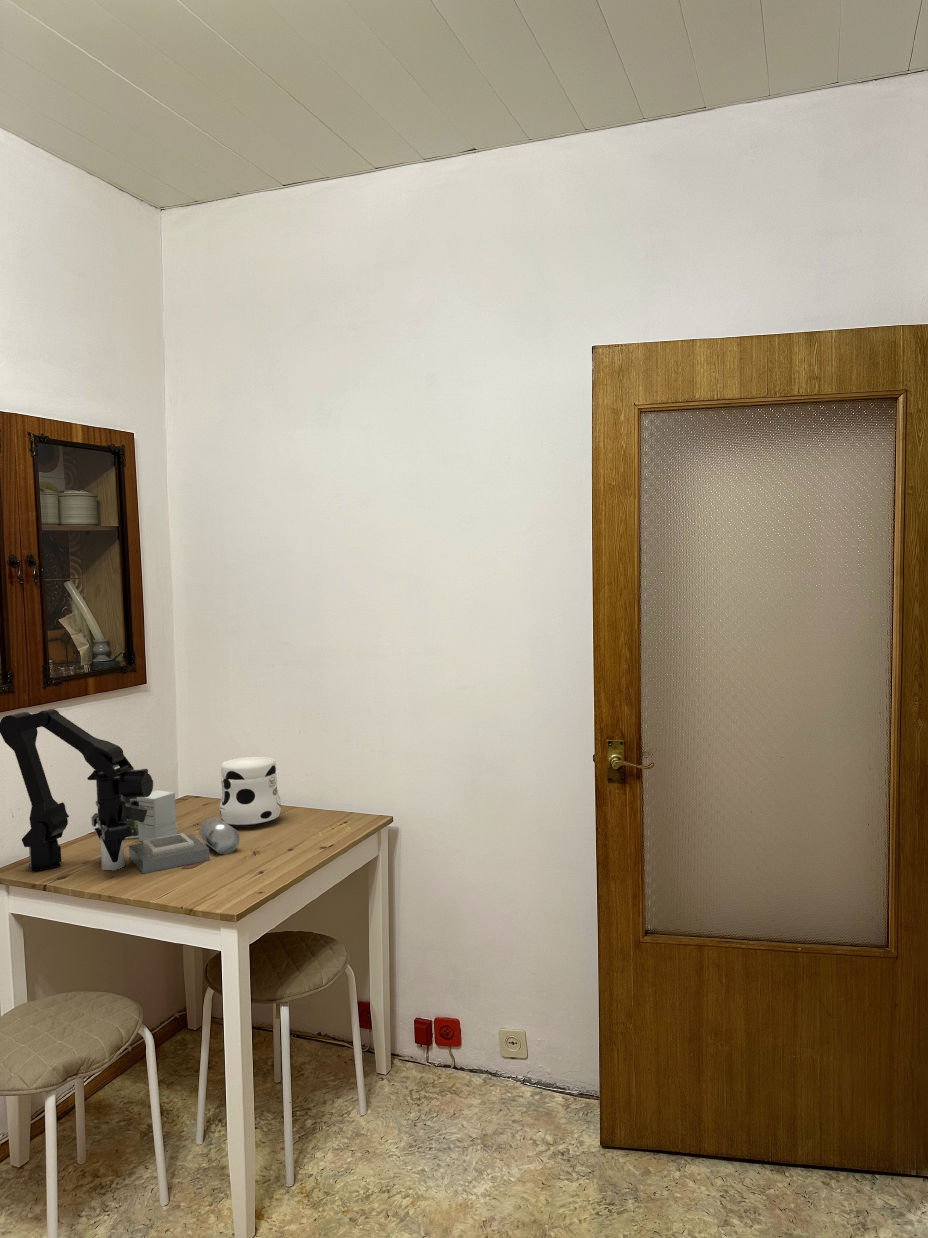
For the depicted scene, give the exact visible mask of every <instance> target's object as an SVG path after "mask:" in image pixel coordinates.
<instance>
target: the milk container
mask: <svg viewBox="0 0 928 1238" xmlns="http://www.w3.org/2000/svg"><path fill="white" fill-rule="evenodd" d="M220 765H221V766H220V776H221V778H220V780H221V782H220V783H221V797H220V801H219V816H220V819H221V820H222V821H224V822H225V823H227V824H228V825H230V826H231V827H233V828H234V827H235V828H236V827H237V828H252V827H259V826H264V825H267V824H271V823H273V822H274V821H276V820H277V819H278V818H279V816H280V814H281V810H282V808H281V807H282V802H281V796H280V795H279V790H278V786H277V779H278V777H277V763H276V759H275V758H274V757H270V756H245V757H236V758H232V759H228V760H225V761H222V763H221V764H220Z"/></svg>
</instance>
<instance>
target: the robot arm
mask: <svg viewBox="0 0 928 1238" xmlns="http://www.w3.org/2000/svg"><path fill="white" fill-rule="evenodd" d="M38 728H44V729H45V730H47V731H48V732H50V733H51V734H53V735H55V736H56V737H57V738H59V739H61V740H62V741H63V742H65V743H66V744H68V745H69V746H71V748H74V749H75V750H77V751H78V752H79V753H80V754H82V757H83V758H84V760H85V762H86V763H87V764H88V765H89V766H90V767H91V768H92V769H93V771H92V773H91V774H90V775H89V776H88V777H87V780H88V781H95V786H96V800H95V805H96V807H97V812H96V813H94V814H93V815H92V816H91V818H90V819H91V826H92V827H94V828H93V829H94V831H95V833H96V835H97V837H98V839H99V840H100V836H102V837H101V839H102V841H103V843H104V845H105V847H106V849H107V851H108V854H109V856H110V858H111V860H112V862H117V861H118V857H119V852H120V847H121V843H122V841H123V842H124V840H126V839H125V838H126V837H130V836H132V828H131V827H130V826H129V825H128V824H126V823H125V822H127V819H130V820H135V821H139V822H144V820H145V817H146V814H147V811H148V810H147V809H146V808H145V807H142V806H139V802H138V801H136V800H131V801H130V802H129V803H128V804H127V803H126V804H125V801H123V800H122V795H123V796H124V797H149V796H150V794H151V793H152V792H153V791H154V790H153V789H154V780H153V778H152V775H151V774H150V773H149V769H148V768H140V769H135V768H134V766H133V765H132V764H131V762H130V761H129V759H128V758H127V757H126V756H125V755H124V750H123V749H122V747H120V746H119V745H117V744H115V743H113V742H111V741H109V740H105V739H101V738H98V737H95V736H93V735H92V734H91V733H89V732H87V731H86V730H85V729H83V728H82V727H80V726H78V725H77V724H75V723H74V722H72V720H69V719H68V718H66V717H65V716H63V715H62V714H61V713H60V712H59V710H57V709H56V708H55V709H54V708H48V709H45V710H41V711H38V712H35V713H31V712H29V711H22V712H16V713H11V714H9V715H5V716H4V717H2V718H1V719H0V735H1V737H2V739H3V741H4V743H5V744H6V745H7V746H8V747H9V748H10V749H11V750H12V751H14V754H15V755H14V756H15V757H16V761H17V764H18V768H19V770H20V774H21V776H22V779H23V782H24V786H25V788H26V791H27V795H28V798H29V801H30V805H31V809H30V814H29V823H30V824H29V825H30V829H29V830H28V831H27V833H26V834H25V835H24V836H23V837H22V838H21V842H22V844H23V847H24V848H28V849H29V850H28V852H29V854H28V855H29V863H28V867H29V869H30V871H31V872H32V873H33V872H39V871H43V870H49V869H54V868H59V867H61V862H62V849H61V848H62V847H61V844H59V841H58V839H60V838H62V837H63V834H64V831H65V830H66V829H67V826H68V824H69V819H68V818H69V817H70V815H69V814H68V812H67V809H66V805H65V803H64V802H60V803H58V802H57V801H56V800H55V799H54V798H53V795H52V792H51V789H50V786H49V783H48V779H47V777H46V774H45V770H44V767H43V765H42V764H43V763H42V762H41V757H40V755H39V751H38V748H37V745H36V744H37V737H38ZM120 822H123V823H120Z"/></svg>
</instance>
